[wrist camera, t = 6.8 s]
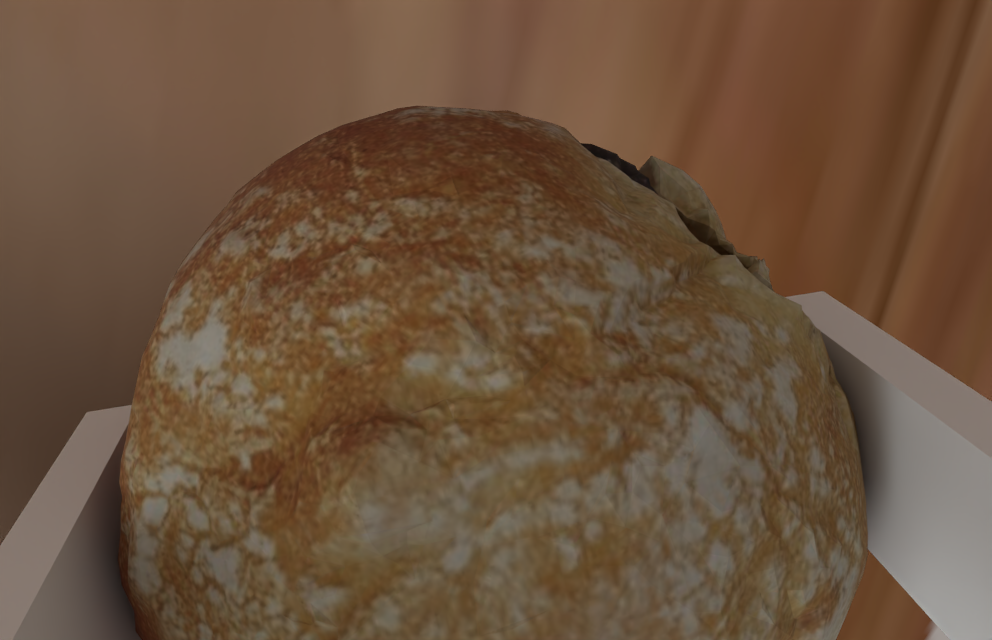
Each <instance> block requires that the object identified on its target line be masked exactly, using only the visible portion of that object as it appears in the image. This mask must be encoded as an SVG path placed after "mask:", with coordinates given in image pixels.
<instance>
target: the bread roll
mask: <svg viewBox="0 0 992 640" xmlns="http://www.w3.org/2000/svg"><path fill="white" fill-rule="evenodd" d="M119 484H120V489H121V494H122V501H121V531H120V541H119V552H118V563H119V570H120V577H121V584H122V587H123V589H124V591H125V594H126V596H127V598H128V600H129V602H130V604H131V606H132V608H133V610H134V617H135V630H136V633H137V634H138V635H139V637H140V638H141V639H142V640H836V638H837V636H838V633H839V631H840V629H841V627H842V624H843V622H844V619H845V617H846V614H847V612H848V610H849V607H850V605H851V602H852V600H853V597H854V595H855V593H856V590H857V588H858V585H859V583H860V580H861V578H862V576H863V573H864V569H865V564H866V560H867V553H868V528H867V513H866V496H865V488H864V481H863V473H862V465H861V457H860V448H859V441H858V435H857V429H856V423H855V417H854V414H853V411H852V409H851V407H850V404H849V401H848V398H847V396H846V394H845V392H844V390H843V389H842V387H841V385H840V384H839V382H838V381H837V379H836V377H835V373H834V369H833V365H832V362H831V360H830V359H829V356H828V353H827V350H826V347H825V344H824V341H823V338H822V335H821V332H820V330H819V329H818V328H816V327H815V325H814V324H813V322H812V321H811V320H810V318H809V317H808V316H807V315H806V314H805V313H804V312H803V310H802V305H800V304H798V303H796V302H794V301H791V300H789V299H787V298H785V297H783V296H781V295H779V294H777V293H775V292H774V291H773V289H772V286H771V283H770V279H769V268H768V267H766V264H765V261H764V259H762V260H760V259H759V260H758V259H757V256H746V255H743V254H740V253H737V252H736V250H735V248H734V246H733V244H732V243H730V242H729V241H728V240H726V237H725V234H724V231H723V228H722V224H721V222H720V220H719V217H718V215H717V213H716V210H715V209H714V207H713V205H712V204H711V202H710V200H709V199H708V197H707V196H706V194H705V192H704V191H703V189H702V187H701V186H700V185H699V184H698V183H697V182H695V181H694V180H693V179H692V178H691V177H690V176H689V175H687V174H686V173H685V172H684V171H683V170H681V169H679V168H676V167H674V166H672V165H670V164H668V163H666V162H664V161H662V160H660V159H658V158H655V157H653V156H651V157H650V158H649V159H648V160H647V162H646V163H645V164H644V165H643V166H642V167H641V169H640V170H639V171H638V170H637V169H636V166H634V165H632V164H630V163H628V162H626V161H624V160H622V159H620V158H619V156H618V155H617V154H615V153H613V152H610V151H608V150H605V149H603V148H600V147H597V146H595V145H592V144H582V143H579V142H578V141H577V140H576V139H575V138H574V137H573V136H572V135H571V134H570V133H569V132H568V131H567V130H566V129H565V128H563V127H560V126H558V125H555V124H553V123H549V122H545V121H541V120H537V119H533V118H529V117H525V116H521V115H520V114H518V113H514V112H510V111H484V110H475V109H463V108H444V107H427V106H412V107H405V108H398V109H395V110H391V111H388V112H385V113H382V114H379V115H375V116H372V117H368V118H365V119H362V120H358V121H355V122H351V123H348V124H345V125H342V126H340V127H337V128H335V129H333V130H330V131H328V132H326V133H323V134H321V135H319V136H317V137H315V138H313V139H312V140H310V141H308V142H307V143H305V144H303V145H301V146H300V147H298V148H296V149H295V150H293V151H291V152H290V153H288V154H286V155H285V156H283V157H282V158H280V159H278V160H277V161H275V162H274V163H273V164H271V165H270V166H269V167H267V168H266V169H265V170H263V171H262V172H261V173H259V174H258V175H257V176H256V177H254V178H253V179H252V180H251V181H250V182H248V183H247V184H246V185H245V186H243V187H242V188H241V189H240V190H239V191H237V192H236V193H235V195H234V196H233V198H232V199H231V201H230V202H229V203H228V205H227V206H226V207H225V208H224V209H223V211H222V212H221V213H220V214H219V215H218V216H217V217H216V218H215V220H214V221H213V222H212V223H211V225H210V226H209V227H208V229H207V230H206V231H205V232H204V234H203V235H202V236H201V238H200V239H199V240H198V241H197V243H196V244H195V246H194V247H193V248H192V250H191V251H190V252H189V254H188V255H187V256H186V258H185V259H184V260H183V262H182V264H181V265H180V267H179V269H178V271H177V272H176V274H175V276H174V278H173V279H172V281H171V283H170V286H169V288H168V291H167V293H166V296H165V299H164V301H163V305H162V308H161V312H160V315H159V318H158V319H157V322H156V324H155V327H154V330H153V332H152V335H151V337H150V339H149V342H148V344H147V346H146V349H145V351H144V353H143V356H142V358H141V363H140V368H139V373H138V377H137V382H136V387H135V392H134V397H133V401H132V406H131V412H130V418H129V424H128V430H127V436H126V441H125V446H124V450H123V454H122V458H121V467H120V479H119Z"/></svg>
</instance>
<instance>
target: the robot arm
mask: <svg viewBox="0 0 992 640" xmlns="http://www.w3.org/2000/svg"><path fill="white" fill-rule="evenodd" d="M785 298H787V299H789V300H791V301H794V302H796V303H798V304H800V305H802V310H803V312H804V313H805V314H806V315H807V316H808V317H809V318H810V320H811V321H812V322H813V324H814V325H815V327H816V328H818V329H819V330H820V332H821V335H822V338H823V341H824V344H825V347H826V350H827V353H828V356H829V359H830V360H831V362H832V365H833V369H834V373H835V377H836V379H837V381H838V382H839V384H840V385H841V387H842V389H843V390H844V392H845V394H846V396H847V398H848V401H849V404H850V407H851V409H852V411H853V414H854V417H855V423H856V429H857V435H858V441H859V448H860V457H861V465H862V473H863V481H864V488H865V496H866V513H867V528H868V550H869V551H870V552H871V553H872V554H873V555H874V556H875V557H876V558H877V560H878V561H879V562H880V563H881V564H882V565H883V566H884V567H885V568H886V569H887V571H888V572H889V573H890V574H891V575H892V576H893V577H894V578H895V579H896V581H897V582H898V583H899V584H900V585H901V586H902V587H903V588H904V589H905V591H906V592H907V593H908V594H909V595H910V596H911V597H912V598H913V599H914V601H915V602H916V603H917V604H918V605H919V606H920V607H921V608H922V609H923V610H924V612H925V613H926V614H927V615H928V616H929V617H930V618H931V619H932V620H933V622H934V623H935V624H936V625H937V626H938V627H939V628H940V629H941V630H942V632H943V633H944V634H945V635H946V636H947V637H948V638H949V639H950V640H992V402H991V401H990V400H988V399H987V398H985V397H984V396H982V395H980V394H979V393H977V392H976V391H974V390H973V389H971V388H970V387H968V386H967V385H965V384H964V383H962V382H961V381H959V380H958V379H956V378H955V377H953V376H952V375H950V374H948V373H947V372H945V371H944V370H942V369H941V368H939V367H938V366H936V365H935V364H933V363H932V362H930V361H929V360H927V359H926V358H924V357H923V356H921V355H920V354H918V353H916V352H915V351H913V350H912V349H910V348H909V347H907V346H906V345H904V344H903V343H901V342H900V341H898V340H897V339H895V338H894V337H892V336H891V335H889V334H888V333H886V332H884V331H883V330H881V329H880V328H878V327H877V326H875V325H874V324H872V323H871V322H869V321H868V320H866V319H865V318H863V317H862V316H860V315H859V314H857V313H856V312H854V311H852V310H851V309H849V308H848V307H846V306H845V305H843V304H842V303H840V302H839V301H837V300H836V299H834V298H833V297H831V296H830V295H828V294H827V293H825V292H824V291H821V292H815V293H809V294H803V295H796V296H790V297H785ZM131 406H132V405H127V406H121V407H115V408H109V409H103V410H97V411H91V412H86V414H85V416H84V417H83V419H82V420H81V422H80V423H79V425H78V426H77V428H76V429H75V431H74V433H73V434H72V436H71V437H70V439H69V440H68V442H67V443H66V445H65V446H64V448H63V450H62V451H61V453H60V454H59V456H58V457H57V459H56V460H55V462H54V463H53V465H52V466H51V468H50V470H49V471H48V473H47V474H46V476H45V477H44V479H43V480H42V482H41V483H40V485H39V487H38V488H37V490H36V491H35V493H34V494H33V496H32V497H31V499H30V500H29V502H28V503H27V505H26V507H25V508H24V510H23V511H22V513H21V514H20V516H19V517H18V519H17V520H16V522H15V524H14V525H13V527H12V528H11V530H10V531H9V533H8V534H7V536H6V537H5V539H4V541H3V542H2V544H1V545H0V640H142V639H141V638H140V637H139V635H138V634H137V633H136V630H135V617H134V610H133V608H132V606H131V604H130V602H129V600H128V598H127V596H126V594H125V591H124V589H123V587H122V584H121V577H120V570H119V563H118V552H119V541H120V531H121V501H122V494H121V489H120V484H119V479H120V467H121V458H122V454H123V450H124V446H125V441H126V436H127V430H128V424H129V418H130V412H131Z"/></svg>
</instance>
